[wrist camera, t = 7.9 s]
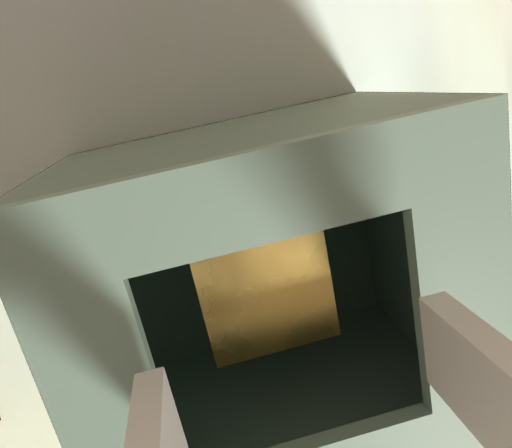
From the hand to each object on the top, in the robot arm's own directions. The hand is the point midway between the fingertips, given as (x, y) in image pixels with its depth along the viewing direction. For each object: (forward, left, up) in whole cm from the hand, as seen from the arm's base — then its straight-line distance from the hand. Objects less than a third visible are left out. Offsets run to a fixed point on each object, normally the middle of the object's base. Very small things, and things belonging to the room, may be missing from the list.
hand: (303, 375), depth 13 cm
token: (0, 0, -7) cm, 7 cm away
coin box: (0, 0, -12) cm, 12 cm away
